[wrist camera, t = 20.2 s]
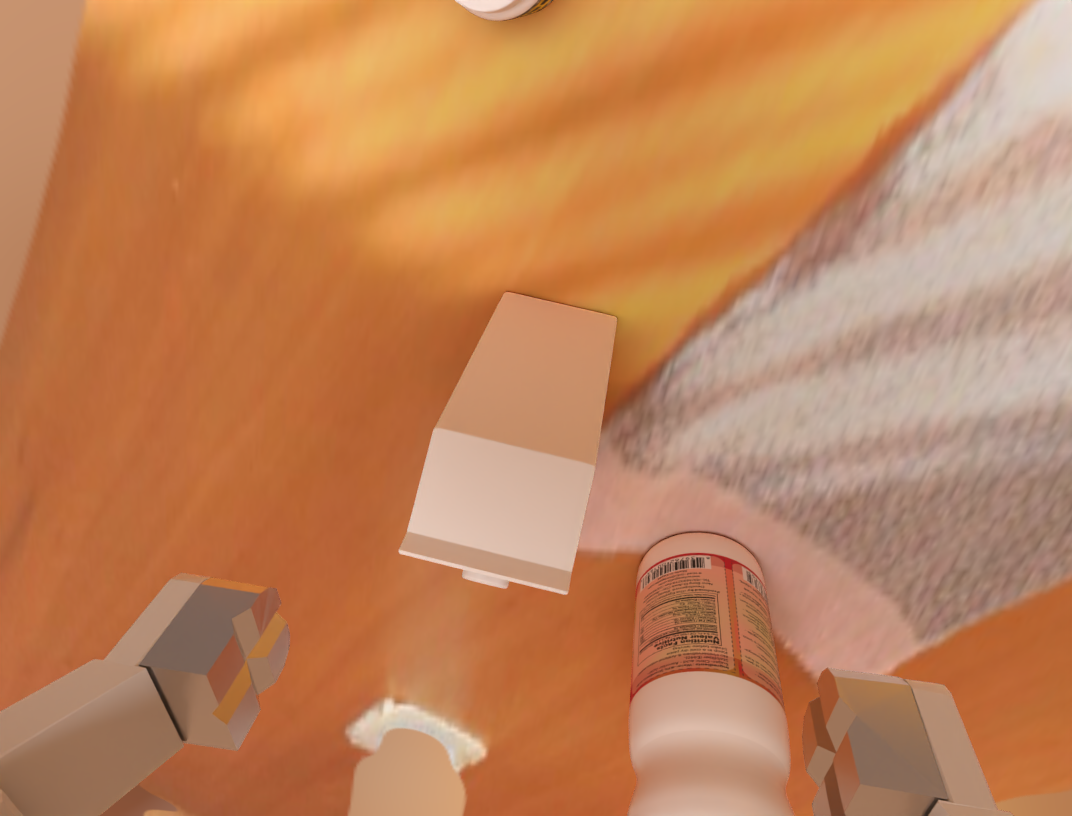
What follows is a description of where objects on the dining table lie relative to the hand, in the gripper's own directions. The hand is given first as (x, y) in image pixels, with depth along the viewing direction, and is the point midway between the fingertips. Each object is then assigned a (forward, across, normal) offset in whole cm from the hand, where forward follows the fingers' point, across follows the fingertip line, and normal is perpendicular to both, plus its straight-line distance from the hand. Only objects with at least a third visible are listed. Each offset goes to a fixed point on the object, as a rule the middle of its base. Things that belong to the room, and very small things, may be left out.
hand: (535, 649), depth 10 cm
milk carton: (+31, +4, +12) cm, 34 cm away
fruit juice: (+31, -8, +30) cm, 44 cm away
